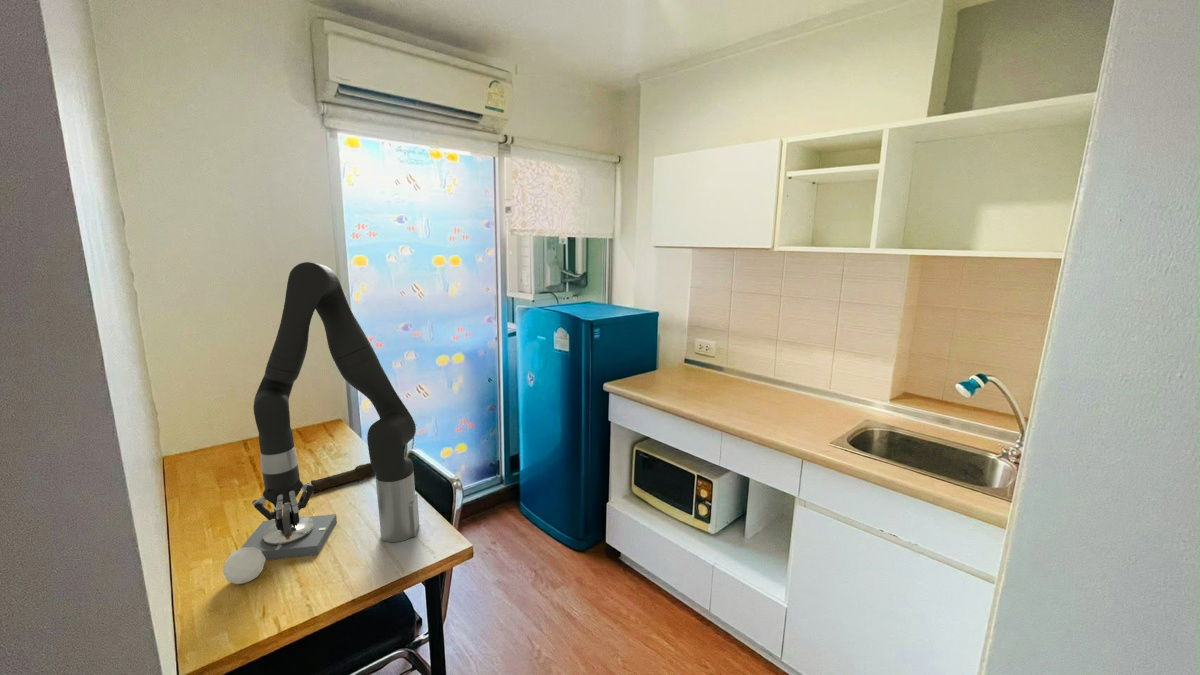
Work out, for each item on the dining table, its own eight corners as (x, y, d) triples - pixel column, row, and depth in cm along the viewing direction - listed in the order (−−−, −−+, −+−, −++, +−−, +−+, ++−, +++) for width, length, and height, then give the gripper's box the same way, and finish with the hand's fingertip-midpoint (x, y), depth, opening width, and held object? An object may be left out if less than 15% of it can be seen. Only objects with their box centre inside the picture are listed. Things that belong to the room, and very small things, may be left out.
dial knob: (313, 515, 130) (311, 495, 129) (313, 536, 121) (311, 515, 120) (264, 527, 125) (261, 506, 123) (261, 550, 115) (258, 528, 114)
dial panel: (336, 522, 132) (335, 513, 131) (318, 554, 118) (317, 544, 118) (264, 529, 128) (263, 520, 128) (237, 563, 115) (235, 553, 114)
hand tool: (312, 495, 145) (311, 482, 144) (311, 490, 148) (309, 476, 147) (378, 478, 157) (377, 465, 156) (376, 473, 160) (374, 460, 159)
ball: (253, 592, 109) (249, 581, 104) (217, 583, 108) (210, 571, 103) (274, 559, 115) (271, 547, 110) (240, 550, 114) (235, 537, 108)
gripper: (250, 480, 111) (260, 546, 115) (315, 461, 121) (323, 522, 125) (242, 470, 116) (252, 533, 120) (306, 452, 126) (313, 511, 130)
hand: (288, 527), depth 122 cm, fingers closed on dial knob, 2 cm apart
